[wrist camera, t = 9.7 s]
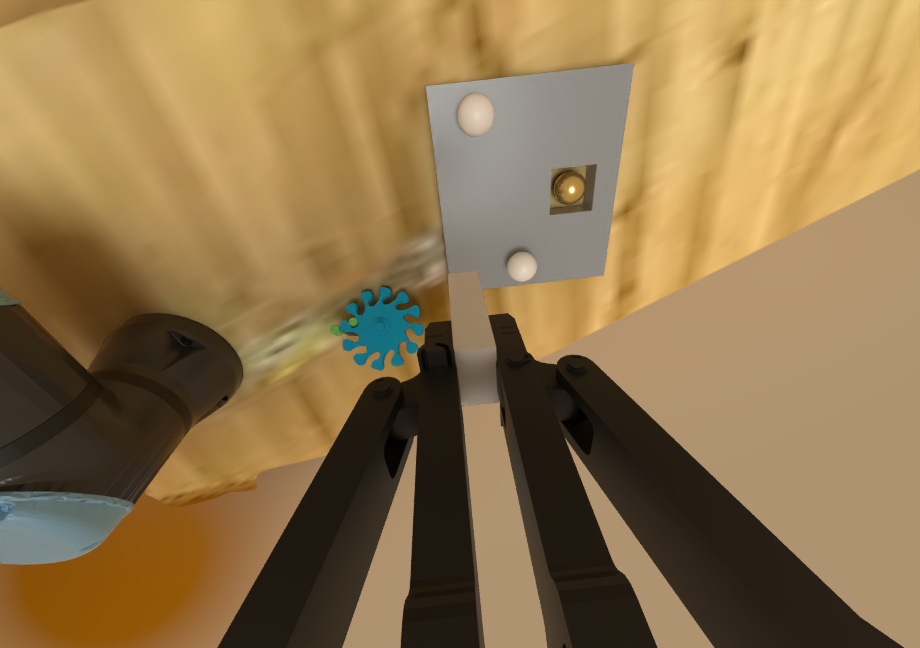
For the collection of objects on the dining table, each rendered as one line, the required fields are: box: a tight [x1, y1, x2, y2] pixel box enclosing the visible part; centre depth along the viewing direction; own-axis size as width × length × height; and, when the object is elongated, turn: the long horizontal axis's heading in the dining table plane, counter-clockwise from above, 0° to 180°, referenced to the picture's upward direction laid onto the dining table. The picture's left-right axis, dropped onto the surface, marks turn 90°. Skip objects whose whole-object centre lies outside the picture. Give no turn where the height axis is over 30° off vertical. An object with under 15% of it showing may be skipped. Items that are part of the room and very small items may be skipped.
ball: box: [554, 171, 586, 204], centre depth 36 cm, size 3×3×3 cm
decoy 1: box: [507, 252, 537, 282], centre depth 37 cm, size 3×3×3 cm
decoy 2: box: [457, 93, 495, 137], centre depth 29 cm, size 3×3×3 cm
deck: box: [426, 63, 634, 289], centre depth 36 cm, size 18×20×2 cm
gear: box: [330, 287, 424, 371], centre depth 43 cm, size 11×6×10 cm
